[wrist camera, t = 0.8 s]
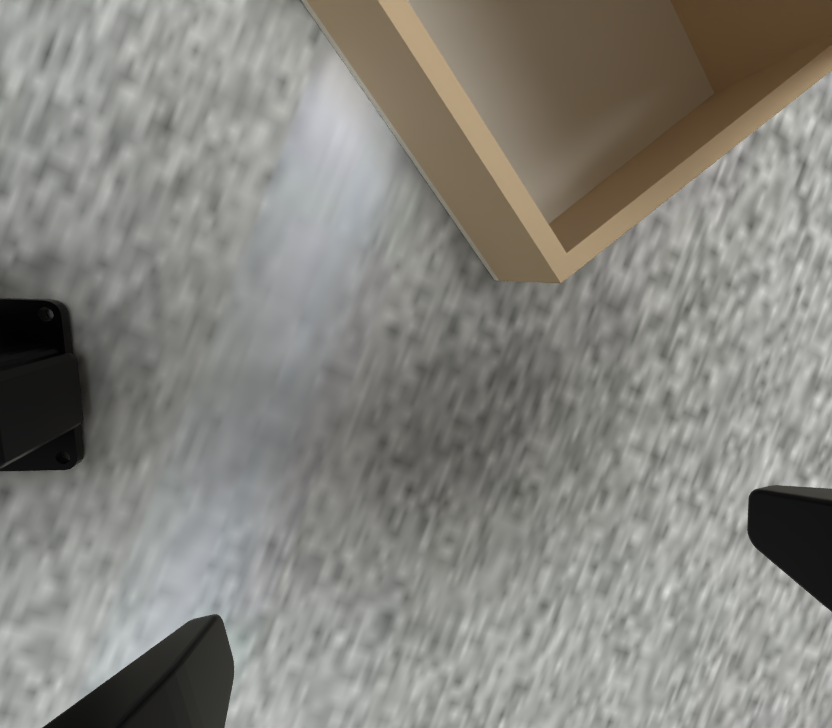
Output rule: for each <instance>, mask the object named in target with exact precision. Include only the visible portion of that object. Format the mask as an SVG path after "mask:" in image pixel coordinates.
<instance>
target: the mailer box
mask: <svg viewBox="0 0 832 728" xmlns="http://www.w3.org/2000/svg"><path fill="white" fill-rule="evenodd" d="M301 1H302V2H303V4H304V5H305V7H306V8H307V10H308V11H309V13H310V14H311V15H312V17H313V18H314V20H315V21H316V23H317V24H318V26H319V27H320V28H321V30H322V31H323V33H324V34H325V36H326V37H327V39H328V40H329V41H330V43H331V44H332V46H333V47H334V49H335V50H336V52H337V53H338V55H339V56H340V57H341V59H342V60H343V62H344V63H345V65H346V66H347V68H348V69H349V70H350V72H351V73H352V75H353V76H354V78H355V79H356V81H357V82H358V83H359V85H360V86H361V88H362V89H363V91H364V92H365V94H366V95H367V96H368V98H369V99H370V101H371V102H372V104H373V105H374V107H375V108H376V109H377V111H378V112H379V114H380V115H381V117H382V118H383V120H384V121H385V122H386V124H387V125H388V127H389V128H390V130H391V131H392V133H393V134H394V135H395V137H396V138H397V140H398V141H399V143H400V144H401V146H402V147H403V148H404V150H405V151H406V153H407V154H408V156H409V157H410V159H411V160H412V161H413V163H414V164H415V166H416V167H417V169H418V170H419V172H420V173H421V175H422V176H423V177H424V179H425V180H426V182H427V183H428V185H429V186H430V188H431V189H432V190H433V192H434V193H435V195H436V196H437V198H438V199H439V201H440V202H441V203H442V205H443V206H444V208H445V209H446V211H447V212H448V214H449V215H450V216H451V218H452V219H453V221H454V222H455V224H456V225H457V227H458V228H459V229H460V231H461V232H462V234H463V235H464V237H465V238H466V240H467V241H468V242H469V244H470V245H471V247H472V248H473V250H474V251H475V253H476V254H477V255H478V257H479V258H480V260H481V261H482V263H483V264H484V266H485V267H486V268H487V270H488V271H489V273H490V274H491V276H492V277H493V279H494V280H495V281H516V282H542V283H562V282H563V281H565V280H566V279H567V278H568V277H570V276H571V275H572V274H573V273H575V272H576V271H577V270H579V269H580V268H581V267H582V266H584V265H585V264H586V263H587V262H589V261H590V260H591V259H593V258H594V257H595V256H596V255H598V254H599V253H600V252H601V251H603V250H604V249H605V248H607V247H608V246H609V245H610V244H612V243H613V242H614V241H615V240H617V239H618V238H619V237H620V236H622V235H623V234H624V233H626V232H627V231H628V230H629V229H631V228H632V227H633V226H634V225H636V224H637V223H638V222H640V221H641V220H642V219H643V218H645V217H646V216H647V215H648V214H650V213H651V212H652V211H654V210H655V209H656V208H657V207H659V206H660V205H661V204H662V203H664V202H665V201H666V200H668V199H669V198H670V197H671V196H673V195H674V194H675V193H676V192H678V191H679V190H680V189H682V188H683V187H684V186H685V185H687V184H688V183H689V182H690V181H692V180H693V179H694V178H696V177H697V176H698V175H699V174H701V173H702V172H703V171H704V170H706V169H707V168H708V167H710V166H711V165H712V164H713V163H715V162H716V161H717V160H718V159H720V158H721V157H722V156H724V155H725V154H726V153H727V152H729V151H730V150H731V149H732V148H734V147H735V146H736V145H738V144H739V143H740V142H741V141H743V140H744V139H745V138H746V137H748V136H749V135H750V134H752V133H753V132H754V131H755V130H757V129H758V128H759V127H760V126H762V125H763V124H764V123H765V122H767V121H768V120H769V119H771V118H772V117H773V116H774V115H776V114H777V113H778V112H779V111H781V110H782V109H783V108H785V107H786V106H787V105H788V104H790V103H791V102H792V101H793V100H795V99H796V98H797V97H799V96H800V95H801V94H802V93H804V92H805V91H806V90H807V89H809V88H810V87H811V86H813V85H814V84H815V83H816V82H818V81H819V80H820V79H821V78H823V77H824V76H825V75H827V74H828V73H829V72H830V71H832V0H301Z"/></svg>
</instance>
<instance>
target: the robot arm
mask: <svg viewBox="0 0 832 728" xmlns="http://www.w3.org/2000/svg"><path fill="white" fill-rule="evenodd" d="M47 308H49V309H51V310H52V311H53V314H54V316H53V319H52V320H50V319H49V318H48V317H47V316H46V314H45V312H46V309H47ZM82 421H83V411H82V402H81V392H80V383H79V374H78V365H77V359H76V358H75V357H74V356H73V353H72V344H71V335H70V326H69V317H68V312H67V309H66V307H65V306H64V305H63V304H62V303H60V302H58V301H55V300H45V299H15V298H0V471H36V470H67V469H71V468H72V467H74V466H75V465H77V464H78V463H80V462H81V460H82V459H83V454H84V453H83V444H82V435H81V426H80V423H81V422H82ZM62 452H66V453H68V454H69V455H70V460H68V459H66V458H64V457H63V454H62ZM747 531H748V535H749V538H750V540H751V542H752V544H753V545H754V546H755V547H756V548H757V549H758V550H759V551H760V552H761V553H762V554H763V555H765V556H766V557H767V558H768V559H769V560H771V561H772V562H773V563H774V564H775V565H777V566H778V567H779V568H780V569H781V570H782V571H784V572H785V573H786V574H787V575H788V576H790V577H791V578H792V579H793V580H794V581H796V582H797V583H798V584H799V585H800V586H801V587H803V588H804V589H805V590H806V591H807V592H809V593H810V594H811V595H812V596H813V597H814V598H816V599H817V600H818V601H819V602H820V603H822V604H823V605H824V606H825V607H827V608H828V609H829V610H830V611H831V612H832V489H826V488H811V487H795V486H779V485H775V486H768V487H763V488H759V489H755V490H753V491H752V492H751V494H750V496H749V503H748V527H747ZM233 679H234V661H233V656H232V652H231V649H230V645H229V641H228V638H227V634H226V630H225V627H224V623H223V620H222V619H221V617H220V616H219V615H217V614H213V615H209V616H205V617H200V618H196V619H193V620H190V621H188V622H187V623H186V624H184V625H183V626H181V627H180V628H179V629H177V630H176V631H175V632H173V633H172V634H170V635H169V636H168V637H166V638H165V639H164V640H162V641H161V642H159V643H158V644H157V645H155V646H154V647H153V648H151V649H150V650H148V651H147V652H146V653H144V654H143V655H142V656H140V657H139V658H137V659H136V660H135V661H133V662H132V663H131V664H129V665H128V666H126V667H125V668H124V669H122V670H121V671H120V672H118V673H117V674H115V675H114V676H113V677H111V678H110V679H109V680H107V681H106V682H104V683H103V684H102V685H100V686H99V687H98V688H96V689H95V690H93V691H92V692H91V693H89V694H88V695H87V696H85V697H84V698H82V699H81V700H80V701H78V702H77V703H76V704H74V705H73V706H71V707H70V708H69V709H67V710H66V711H65V712H63V713H62V714H60V715H59V716H58V717H56V718H55V719H54V720H52V721H51V722H49V723H48V724H47V725H45V726H44V727H43V728H224V727H225V722H226V716H227V711H228V706H229V700H230V695H231V690H232V685H233Z"/></svg>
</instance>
